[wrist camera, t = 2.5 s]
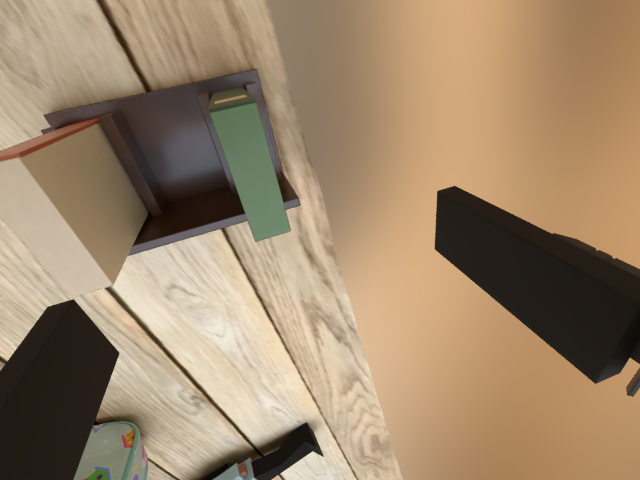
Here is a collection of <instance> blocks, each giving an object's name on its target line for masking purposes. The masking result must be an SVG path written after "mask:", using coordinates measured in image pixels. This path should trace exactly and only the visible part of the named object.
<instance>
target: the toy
mask: <svg viewBox="0 0 640 480" xmlns="http://www.w3.org/2000/svg"><path fill="white" fill-rule="evenodd" d="M312 451H314V452H316V453H317V454H319V455H321V456H323V454H322V451H321V449H320V446H319V444H318V442H317V439H316V437H315V434H314V432H313V431H312V429H311V428H310V427H309V425H308V424H307V423H306V424H304V425H303V426H301V427H300V428H299V429H298V430H297V431H296V432H295V433H294V434H293V435H292V436H291V437H290V438H289V439H288V440H287V441H286V442H285V443H284V444H283V445H282V446H281V447H280V448H279V449H278V450H276V451H274V452H272V453H270V454H267V455H265V456H263V457H261V458H259V459H257V460H255V461H253V460H252V459H251V458H248V459H247V460H245V461H244V462H242V463H240V464H237V463H236V464H234V465H233V466H232V467H231V466H229V465H228V464H226V465H224V466H223V467H221V468H220V469H218V470H217V471H215V472H214V473H212V474H211V475H209V476H208V477H206V478H205V479H203V480H271V479H273V478H274V477H276V476H277V475H279V474H280V473H281V472H283V471H284V470H286V469H287V468H289V467H290V466H292V465H293V464H295V463H296V462H297V461H299V460H300V459H302V458H303V457H305V456H306V455H308V454H309V453H311V452H312ZM323 457H324V456H323Z"/></svg>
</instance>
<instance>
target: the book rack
mask: <svg viewBox="0 0 640 480" xmlns="http://www.w3.org/2000/svg"><path fill="white" fill-rule="evenodd" d="M240 86H241V87H242V88H243V89H244V90H246V91H247V92H248V93H249V94H251V95H252V96H253V97H254V98H255V99H256V102H257V106H258V110H259V114H260V117H261V121H262V125H263V128H264V132H265V136H266V140H267V143H268V147H269V151H270V154H271V158H272V162H273V166H274V169H275V173H276V177H277V181H278V184H279V188H280V192H281V195H282V199H283V203H284V207H285V210H287V209H290V208H293V207H297V206H300V201H299V198H298V196H297V194H296V193H295V191H294V189H293V188H292V186H291V185H290V183H289V181H288V180H287V178H286V176H285V175H284V173H283V170H282V167H281V163H280V159H279V155H278V151H277V147H276V143H275V139H274V135H273V131H272V127H271V123H270V119H269V115H268V112H267V108H266V104H265V100H264V96H263V92H262V88H261V84H260V80H259V76H258V72H257V69H253V70H249V71H244V72H239V73H235V74H230V75H225V76H221V77H216V78H211V79H207V80H202V81H197V82H193V83H188V84H183V85H179V86H174V87H170V88H165V89H160V90H156V91H151V92H146V93H142V94H137V95H132V96H128V97H123V98H118V99H114V100H109V101H104V102H100V103H95V104H90V105H86V106H81V107H76V108H72V109H67V110H62V111H58V112H53V113H49V114H45V115H44V117H45V118H46V120H47V121H48V123H49V124H50V126H51V127H49V128H46V129H43V130H41V132H42V133H43V135H44V134H47V133H50V132H52V131H55V130H58V129H60V128H63V127H66V126H68V125H71V124H74V123H78V122H82V121H87V120H91V119H96V118H98V119H99V121H100V123H101V125H102V126H103V128H104V130H105V132H106V134H107V135H108V137H109V139H110V141H111V143H112V145H113V146H114V148H115V150H116V152H117V154H118V155H119V157H120V159H121V161H122V163H123V164H124V166H125V168H126V170H127V172H128V173H129V175H130V177H131V179H132V181H133V183H134V184H135V186H136V188H137V190H138V192H139V193H140V195H141V197H142V199H143V201H144V202H145V204H146V206H147V208H148V210H149V213H148V215H147V217H146V219H145V221H144V223H143V225H142V227H141V230H140V232H139V234H138V236H137V238H136V240H135V242H134V244H133V246H132V248H131V250H130V252H129V254H128V256H129V255H133V254H136V253H140V252H143V251H146V250H150V249H153V248H157V247H160V246H163V245H167V244H170V243H174V242H177V241H181V240H184V239H187V238H191V237H194V236H198V235H201V234H204V233H208V232H211V231H215V230H218V229H222V228H225V227H228V226H232V225H235V224H239V223H242V222H245V221H248V220H247V217H246V214H245V212H244V209H243V206H242V203H241V200H240V197H239V195H238V192H237V189H236V186H235V183H234V181H233V178H232V175H231V172H230V169H229V166H228V164H227V161H226V158H225V155H224V152H223V150H222V147H221V144H220V141H219V138H218V135H217V133H216V130H215V127H214V124H213V121H212V119H211V116H210V113H209V111H208V108H209V105H210V101H211V97H212V94H213V92H218V91H222V90H227V89H231V88H236V87H240Z"/></svg>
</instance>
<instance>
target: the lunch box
mask: <svg viewBox="0 0 640 480" xmlns="http://www.w3.org/2000/svg"><path fill="white" fill-rule="evenodd" d="M147 473H148V457H147V453H146V452H145V449H144V445H143V443H142V440H141V436H140V432H139V429H138V427H137V426H136V425H134V424H133V423H131V422H128V421H115V422H109V423H103V424H99V425H95V426H93V427H92V430H91V433H90V436H89V438H88V441H87V444H86V447H85V449H84V452H83V455H82V458H81V460H80V463H79V466H78V469H77V471H76V474H75V477H74V480H146V479H147Z"/></svg>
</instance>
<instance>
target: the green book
mask: <svg viewBox="0 0 640 480" xmlns="http://www.w3.org/2000/svg"><path fill="white" fill-rule="evenodd" d="M208 111H209V113H210V116H211V119H212V121H213V124H214V127H215V130H216V133H217V135H218V138H219V141H220V144H221V147H222V150H223V152H224V155H225V158H226V161H227V164H228V166H229V169H230V172H231V175H232V178H233V181H234V183H235V186H236V189H237V192H238V195H239V197H240V200H241V203H242V206H243V209H244V212H245V214H246V217H247V220H248V223H249V226H250V228H251V231H252V234H253V237H254V240H255V242H257V241H260V240H264V239H267V238H270V237H273V236H277V235H280V234H283V233H287V232H290V231H291V229H290V225H289V221H288V218H287V214H286V210H285V207H284V203H283V199H282V195H281V192H280V188H279V184H278V181H277V177H276V173H275V169H274V166H273V162H272V158H271V154H270V151H269V147H268V143H267V140H266V136H265V132H264V128H263V125H262V121H261V117H260V114H259V110H258V106H257V102H256V99H255V98H254V97H253V96H252V95H251V94H249V93H248V92H247V91H246V90H244V89H243V88H242V87H241V86H240V87H236V88H231V89H227V90H222V91H218V92H213V94H212V97H211V101H210V105H209V108H208Z"/></svg>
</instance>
